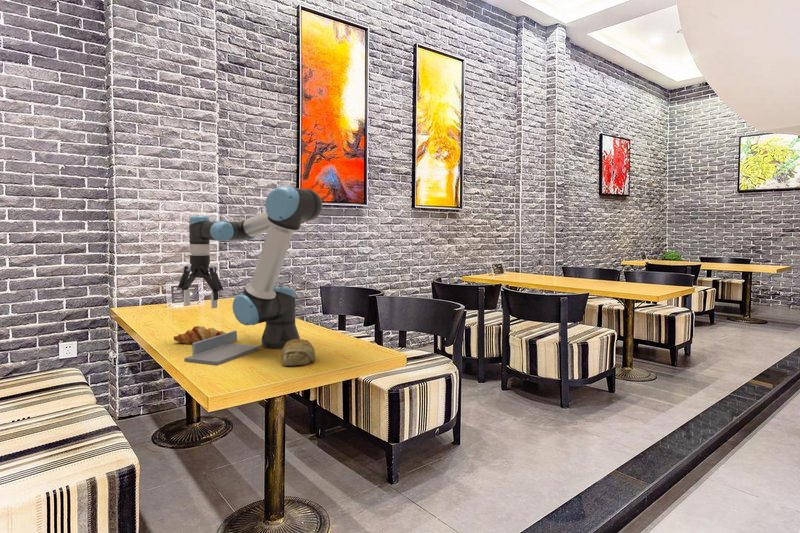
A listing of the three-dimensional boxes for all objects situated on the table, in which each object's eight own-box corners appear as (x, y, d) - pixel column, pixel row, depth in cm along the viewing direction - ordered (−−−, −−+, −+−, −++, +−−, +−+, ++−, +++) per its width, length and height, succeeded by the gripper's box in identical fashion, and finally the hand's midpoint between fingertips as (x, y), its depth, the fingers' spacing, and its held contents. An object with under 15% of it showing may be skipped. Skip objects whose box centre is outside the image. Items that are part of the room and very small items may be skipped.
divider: (236, 340, 204) (236, 330, 204) (195, 354, 181) (194, 343, 181) (234, 340, 204) (234, 330, 204) (192, 354, 182) (192, 343, 182)
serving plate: (259, 349, 190) (259, 345, 190) (217, 365, 167) (217, 361, 167) (229, 346, 194) (229, 343, 194) (184, 361, 172) (184, 358, 172)
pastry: (301, 355, 182) (301, 333, 181) (324, 361, 174) (324, 338, 173) (269, 363, 171) (269, 340, 170) (293, 369, 163) (292, 346, 163)
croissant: (228, 346, 209) (227, 328, 212) (230, 339, 200) (230, 320, 203) (173, 350, 200) (173, 331, 203) (173, 343, 192) (173, 323, 194)
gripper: (231, 255, 198) (232, 307, 200) (181, 252, 206) (182, 303, 208) (219, 256, 191) (219, 310, 193) (168, 253, 199) (169, 305, 201)
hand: (200, 306), depth 200 cm, fingers open, 13 cm apart
